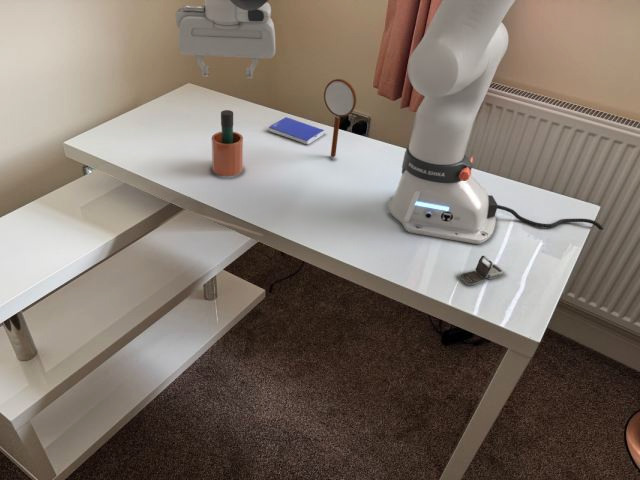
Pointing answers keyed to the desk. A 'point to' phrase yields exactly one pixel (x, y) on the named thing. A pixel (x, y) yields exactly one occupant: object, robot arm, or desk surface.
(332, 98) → the magnifying glass
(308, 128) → the hard drive
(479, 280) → the strap clip
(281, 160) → the desk surface
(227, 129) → the marker
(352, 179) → the desk surface
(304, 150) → the desk surface
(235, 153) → the pen holder
